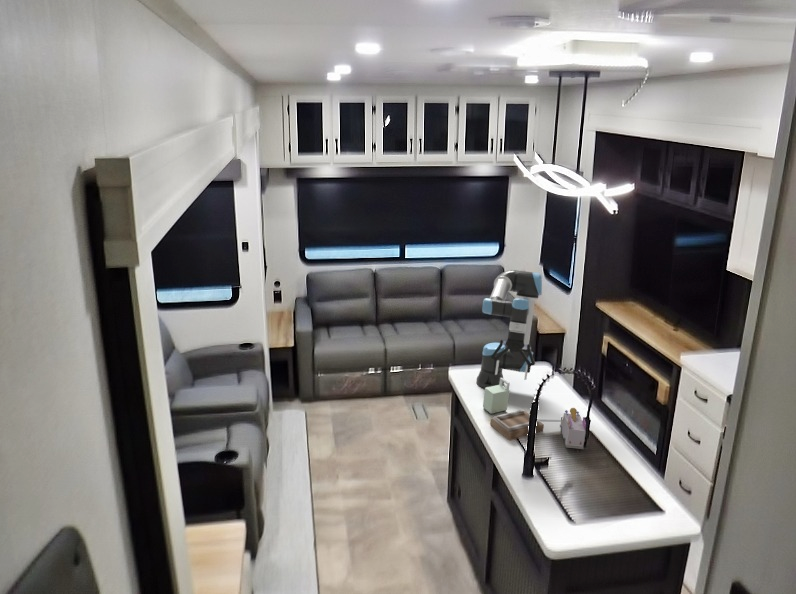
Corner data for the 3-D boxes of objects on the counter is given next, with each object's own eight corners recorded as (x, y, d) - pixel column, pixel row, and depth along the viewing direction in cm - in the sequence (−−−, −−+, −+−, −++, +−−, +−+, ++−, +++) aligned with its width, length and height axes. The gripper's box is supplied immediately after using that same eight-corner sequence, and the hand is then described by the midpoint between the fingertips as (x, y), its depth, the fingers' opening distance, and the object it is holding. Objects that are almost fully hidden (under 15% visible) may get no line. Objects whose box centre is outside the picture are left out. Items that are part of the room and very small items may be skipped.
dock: (522, 416, 311) (523, 407, 310) (542, 431, 299) (544, 421, 297) (489, 424, 302) (491, 414, 300) (509, 440, 289) (510, 430, 288)
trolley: (498, 405, 322) (501, 377, 317) (506, 411, 316) (510, 383, 311) (482, 408, 317) (485, 380, 312) (490, 415, 311) (494, 386, 306)
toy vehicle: (576, 431, 301) (581, 403, 297) (584, 453, 283) (589, 423, 278) (557, 429, 302) (561, 401, 297) (563, 451, 283) (568, 421, 279)
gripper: (489, 328, 289) (482, 373, 290) (543, 336, 282) (537, 382, 283) (491, 327, 297) (485, 371, 297) (544, 335, 289) (538, 380, 290)
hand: (510, 377), depth 290 cm, fingers open, 13 cm apart
